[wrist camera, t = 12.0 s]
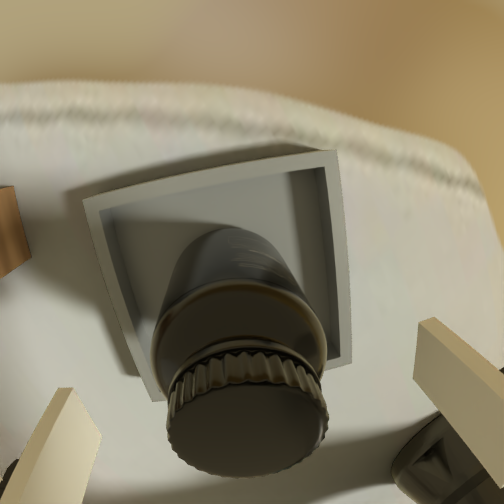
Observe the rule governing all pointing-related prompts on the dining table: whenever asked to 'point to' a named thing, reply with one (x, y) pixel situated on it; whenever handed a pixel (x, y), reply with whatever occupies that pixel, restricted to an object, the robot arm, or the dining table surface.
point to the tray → (217, 217)
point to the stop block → (11, 233)
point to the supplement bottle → (239, 358)
